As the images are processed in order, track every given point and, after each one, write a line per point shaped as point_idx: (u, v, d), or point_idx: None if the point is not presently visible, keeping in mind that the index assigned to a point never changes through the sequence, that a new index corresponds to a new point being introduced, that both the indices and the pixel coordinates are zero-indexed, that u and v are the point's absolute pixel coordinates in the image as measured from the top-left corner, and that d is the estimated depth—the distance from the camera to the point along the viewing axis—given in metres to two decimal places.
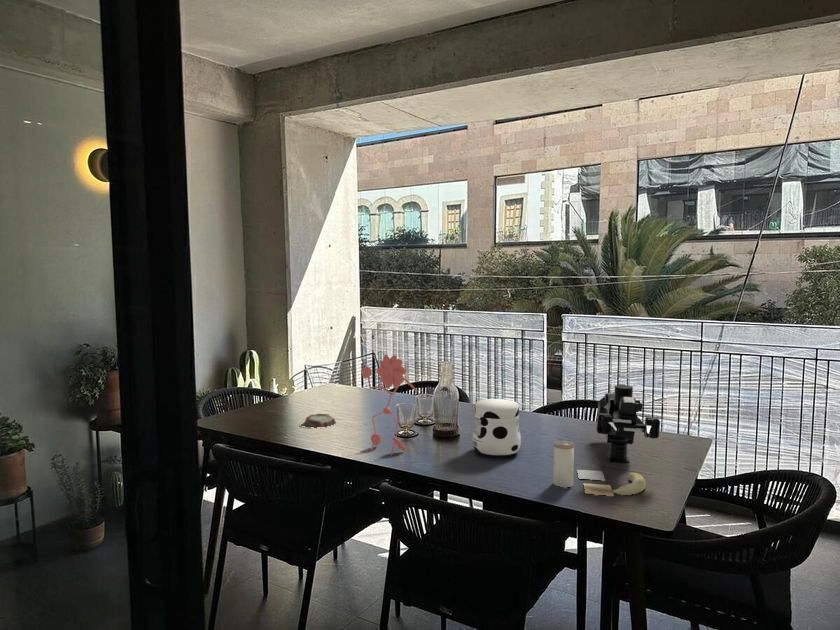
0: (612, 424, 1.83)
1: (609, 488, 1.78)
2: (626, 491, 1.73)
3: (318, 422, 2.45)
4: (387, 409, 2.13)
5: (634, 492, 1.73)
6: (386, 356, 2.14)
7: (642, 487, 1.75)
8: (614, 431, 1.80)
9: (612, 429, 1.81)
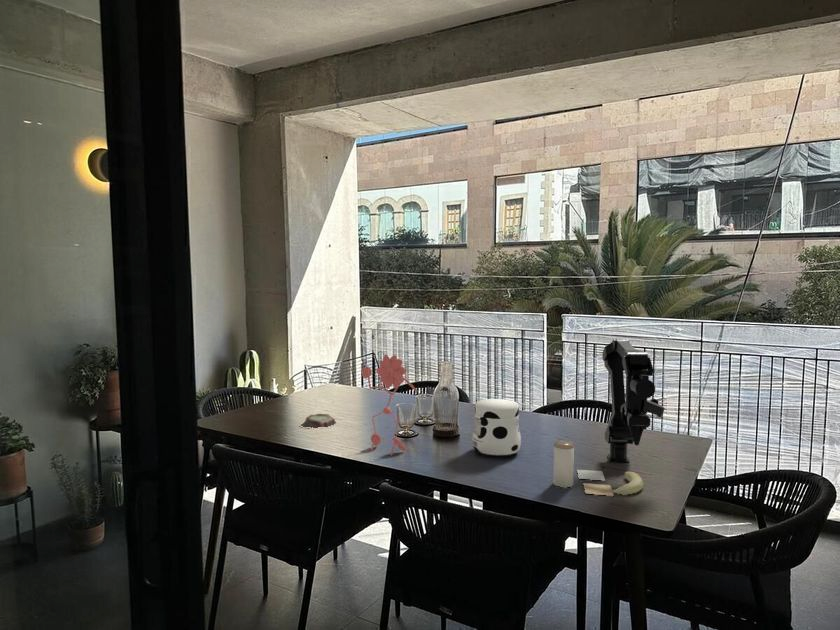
0: None
1: (609, 488, 1.78)
2: (626, 491, 1.73)
3: (318, 422, 2.45)
4: (387, 409, 2.13)
5: (634, 491, 1.74)
6: (386, 356, 2.14)
7: (641, 486, 1.76)
8: (637, 442, 1.80)
9: (637, 438, 1.80)
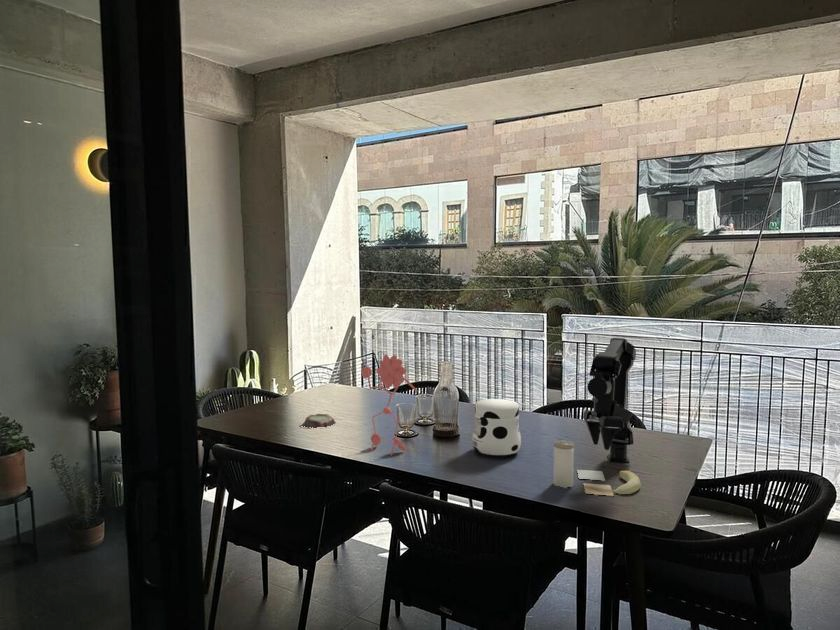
0: None
1: (609, 488, 1.78)
2: (626, 490, 1.73)
3: (318, 422, 2.45)
4: (387, 409, 2.13)
5: (633, 491, 1.74)
6: (386, 356, 2.14)
7: (639, 485, 1.77)
8: (607, 447, 1.75)
9: (608, 442, 1.75)
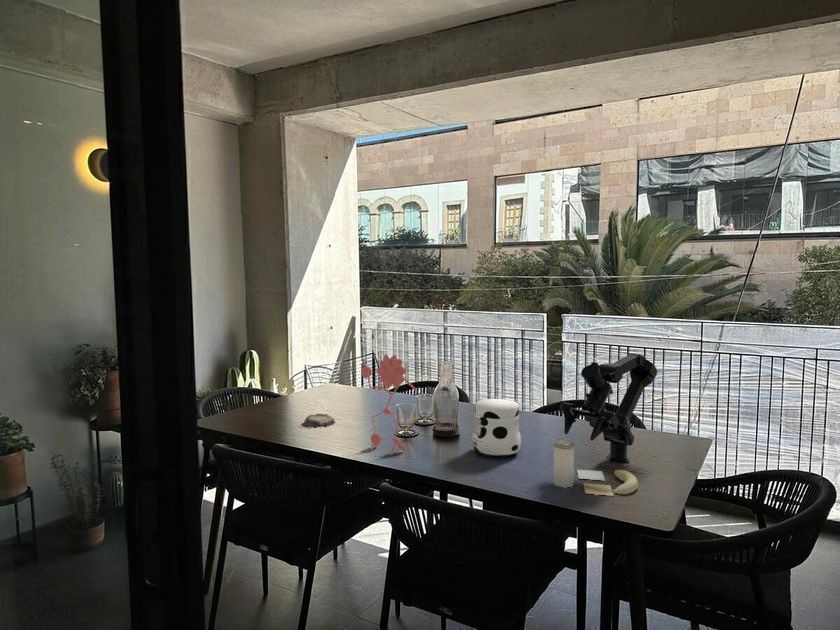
0: None
1: (609, 488, 1.78)
2: (626, 490, 1.74)
3: (317, 422, 2.45)
4: (387, 409, 2.13)
5: (633, 490, 1.75)
6: (386, 356, 2.14)
7: (637, 484, 1.77)
8: (593, 438, 1.82)
9: (596, 434, 1.83)
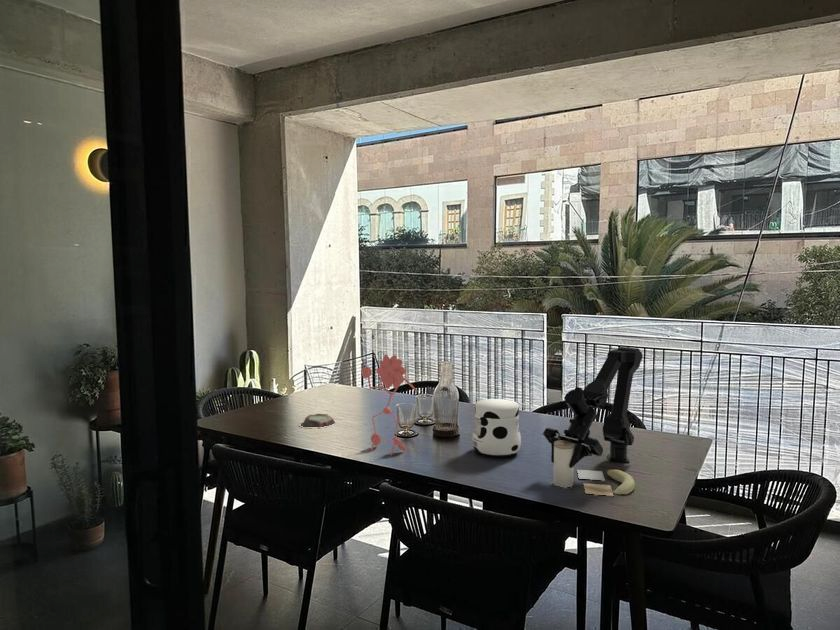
0: None
1: (609, 488, 1.78)
2: (627, 490, 1.74)
3: (317, 422, 2.45)
4: (387, 409, 2.13)
5: (632, 489, 1.75)
6: (386, 356, 2.14)
7: (634, 483, 1.78)
8: (572, 465, 1.78)
9: (575, 461, 1.78)
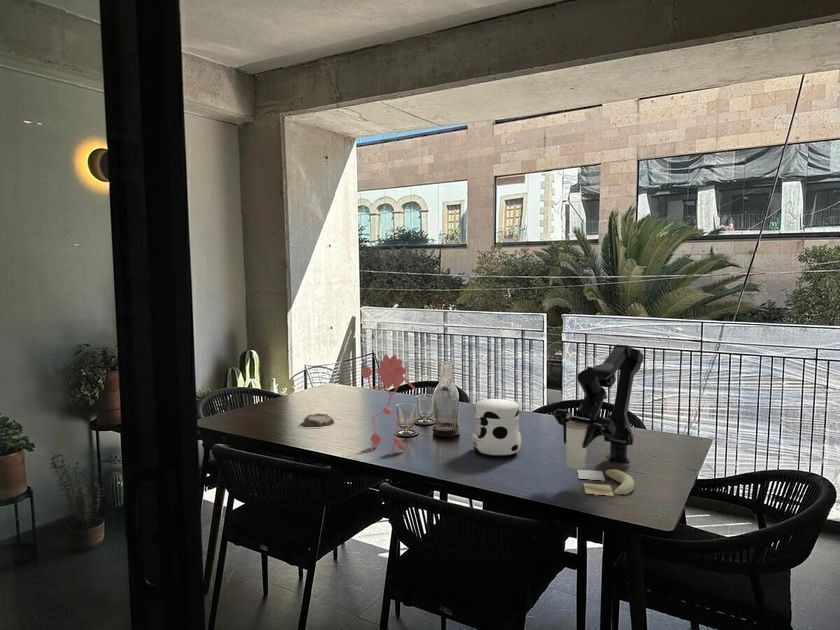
0: None
1: (609, 488, 1.78)
2: (627, 490, 1.74)
3: (317, 422, 2.45)
4: (387, 409, 2.13)
5: (632, 489, 1.75)
6: (386, 356, 2.14)
7: None
8: (586, 445, 1.75)
9: (589, 441, 1.76)
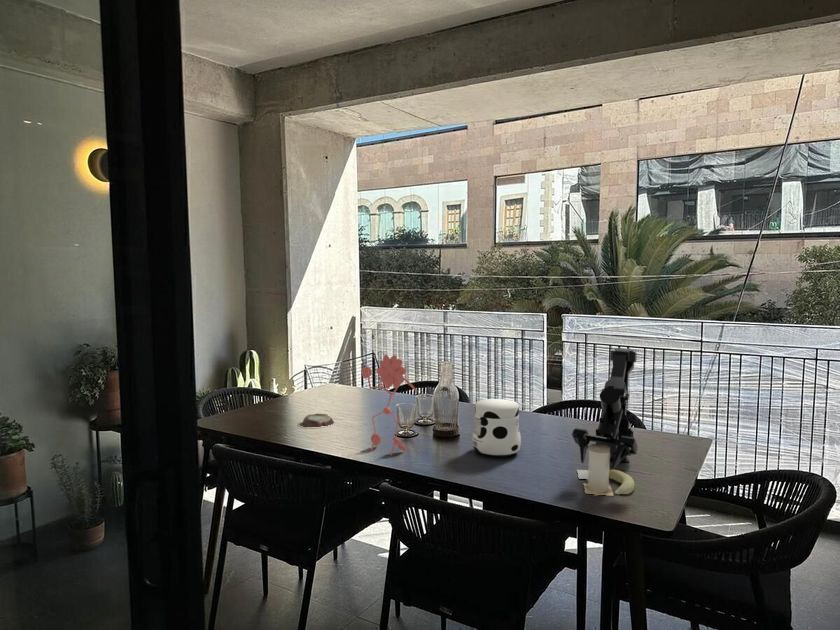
0: None
1: (609, 488, 1.78)
2: (628, 490, 1.74)
3: (316, 422, 2.45)
4: (387, 409, 2.13)
5: (633, 489, 1.75)
6: (386, 356, 2.14)
7: None
8: (615, 466, 1.73)
9: (617, 462, 1.73)
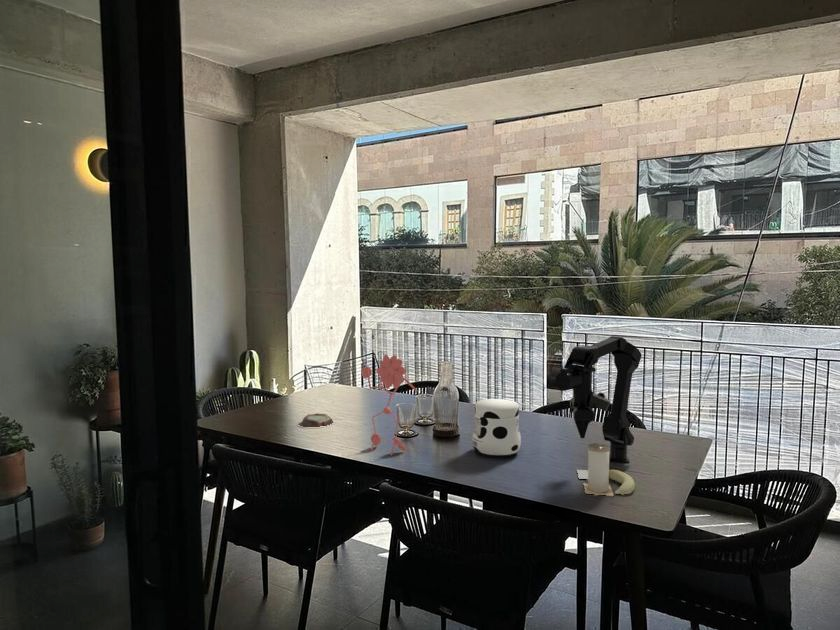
0: (587, 426, 1.84)
1: (609, 488, 1.78)
2: (628, 490, 1.73)
3: (316, 422, 2.45)
4: (387, 409, 2.13)
5: (633, 489, 1.75)
6: (386, 356, 2.14)
7: None
8: (582, 435, 1.85)
9: (583, 431, 1.84)
